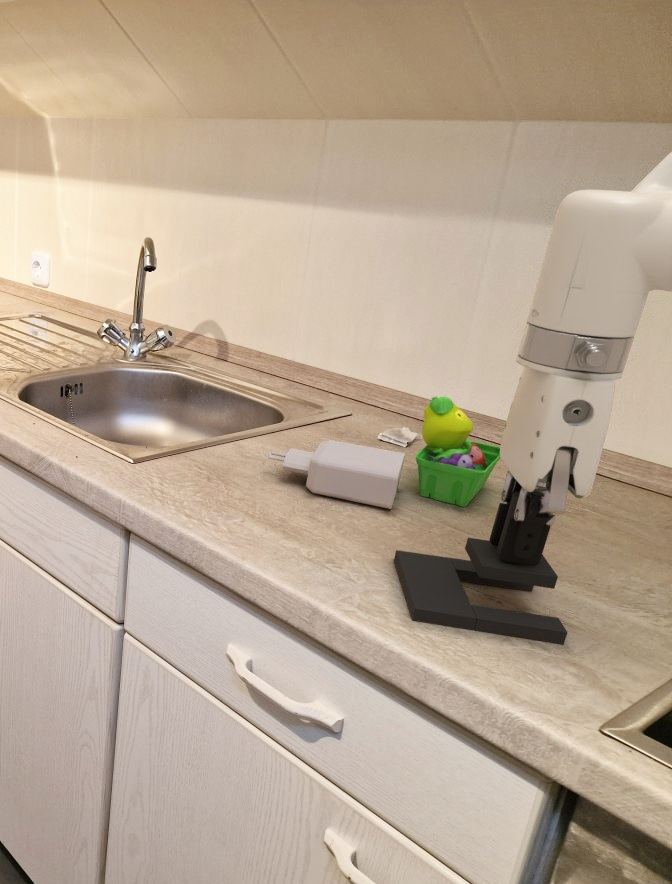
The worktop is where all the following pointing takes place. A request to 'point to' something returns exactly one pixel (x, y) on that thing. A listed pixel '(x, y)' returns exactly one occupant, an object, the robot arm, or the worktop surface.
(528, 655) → the worktop surface
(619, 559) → the worktop surface
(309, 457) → the charger
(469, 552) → the black peg on base
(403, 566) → the black flat u-shaped plate
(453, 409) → the fruit basket
